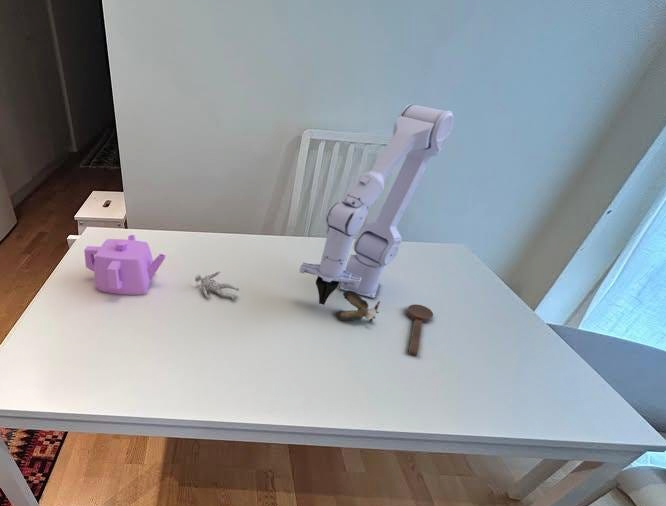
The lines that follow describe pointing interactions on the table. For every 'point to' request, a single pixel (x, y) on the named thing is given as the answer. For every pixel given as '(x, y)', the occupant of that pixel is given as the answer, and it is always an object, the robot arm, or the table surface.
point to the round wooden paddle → (417, 324)
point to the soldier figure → (214, 285)
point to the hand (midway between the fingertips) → (322, 302)
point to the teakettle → (122, 265)
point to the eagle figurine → (358, 303)
